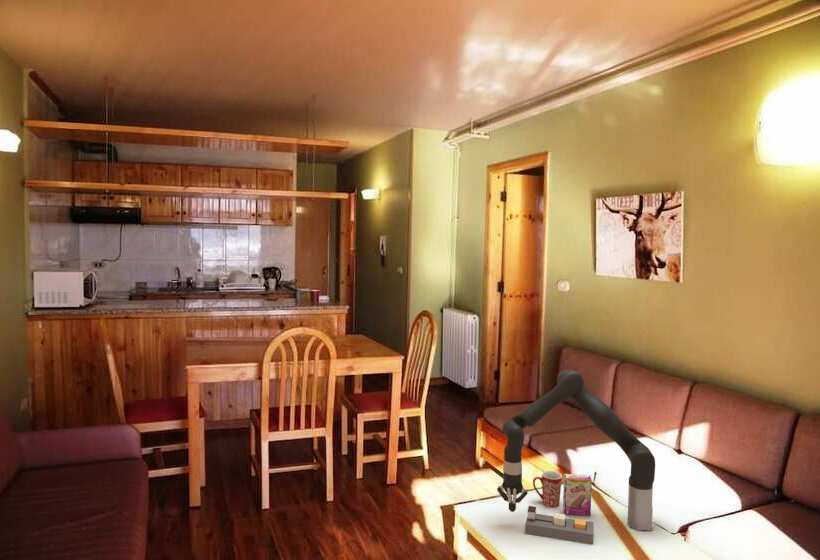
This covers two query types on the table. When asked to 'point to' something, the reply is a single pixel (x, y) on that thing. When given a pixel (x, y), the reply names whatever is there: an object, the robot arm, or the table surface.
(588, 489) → the candy bar box
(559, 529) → the control panel
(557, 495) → the mug
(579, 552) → the table surface
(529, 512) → the slide switch
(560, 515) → the beige button
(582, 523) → the amber button
